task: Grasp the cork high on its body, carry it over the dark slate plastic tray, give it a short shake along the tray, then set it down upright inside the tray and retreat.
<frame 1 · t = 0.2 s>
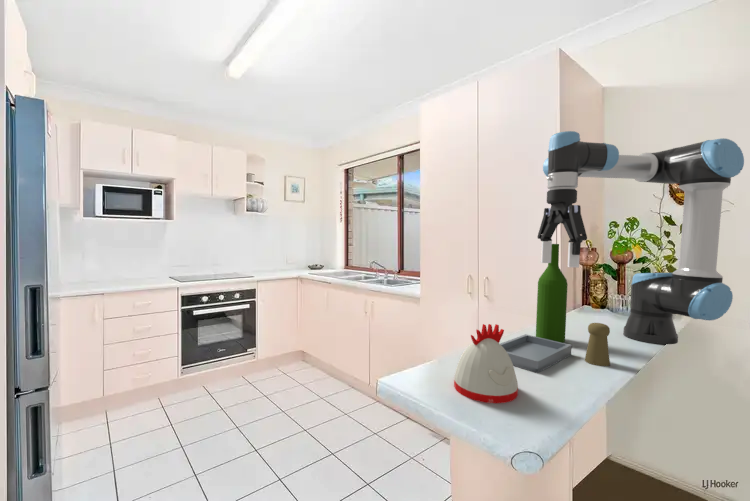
hand: (558, 265, 101), 27 cm above the table, fingers open, 13 cm apart
wine bottle: (550, 340, 121), on the table
kitchen timer: (485, 389, 82), on the table
slate tray: (530, 356, 104), on the table
cork: (597, 363, 100), on the table
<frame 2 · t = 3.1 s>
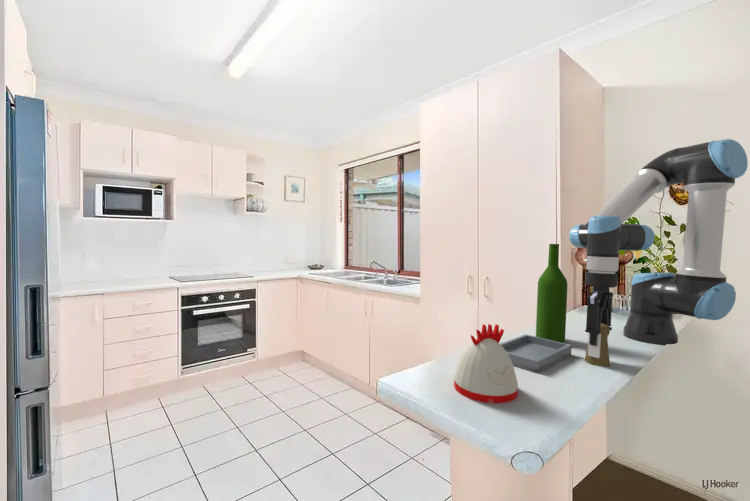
hand: (597, 354, 100), 2 cm above the table, fingers closed on cork, 5 cm apart
cork: (597, 362, 100), on the table, touching gripper
everything else where it was.
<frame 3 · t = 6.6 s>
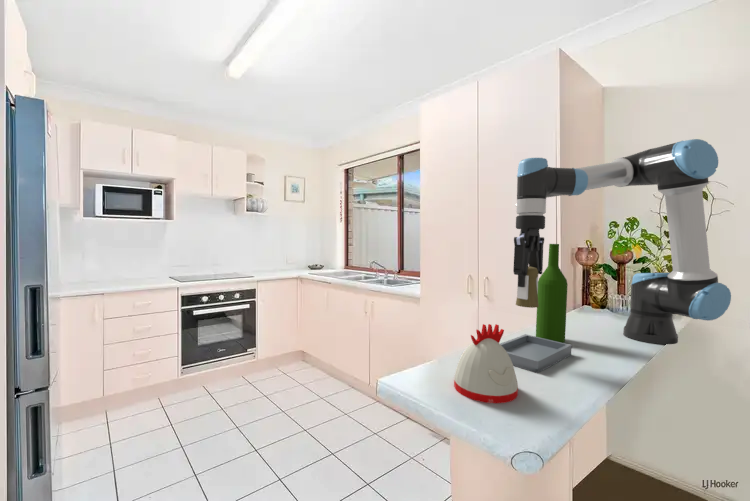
hand: (527, 297, 101), 18 cm above the table, fingers closed on cork, 5 cm apart
cork: (527, 306, 101), point 15 cm above the table, touching gripper
everything else where it was.
when the fingers open (4 cm above the table, at t = 10.4 s): cork stays where it is, resting on slate tray.
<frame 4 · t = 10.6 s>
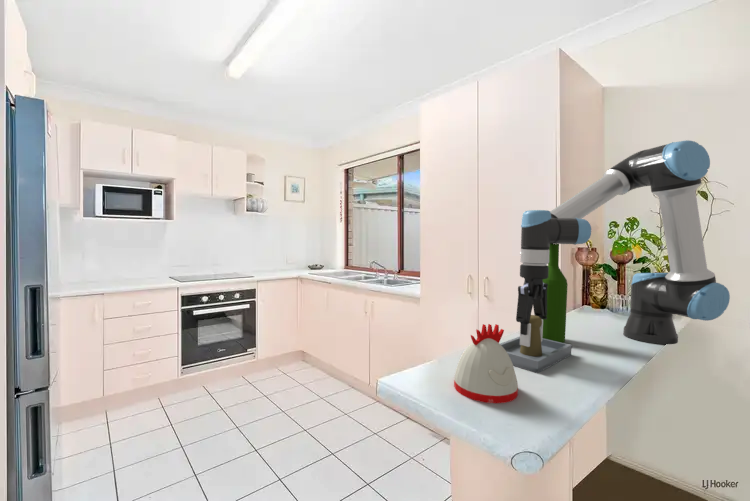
hand: (531, 342, 104), 4 cm above the table, fingers open, 7 cm apart
cork: (530, 353, 104), point 1 cm above the table, touching slate tray
everything else where it was.
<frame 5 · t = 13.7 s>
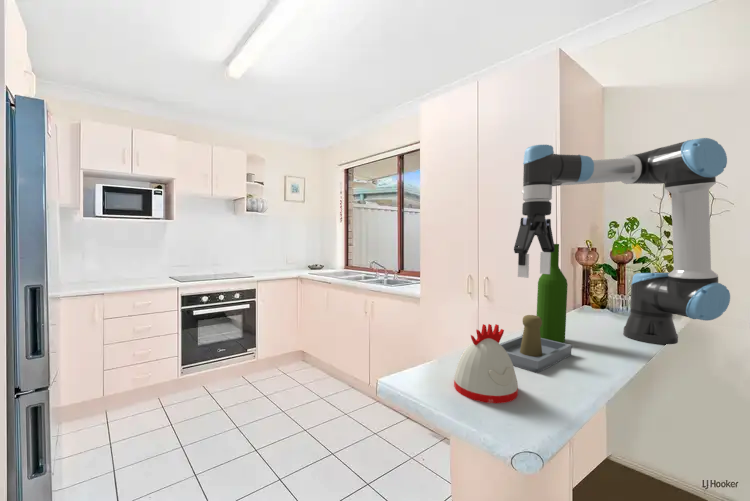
hand: (534, 275, 103), 24 cm above the table, fingers open, 13 cm apart
nothing on the table moved.
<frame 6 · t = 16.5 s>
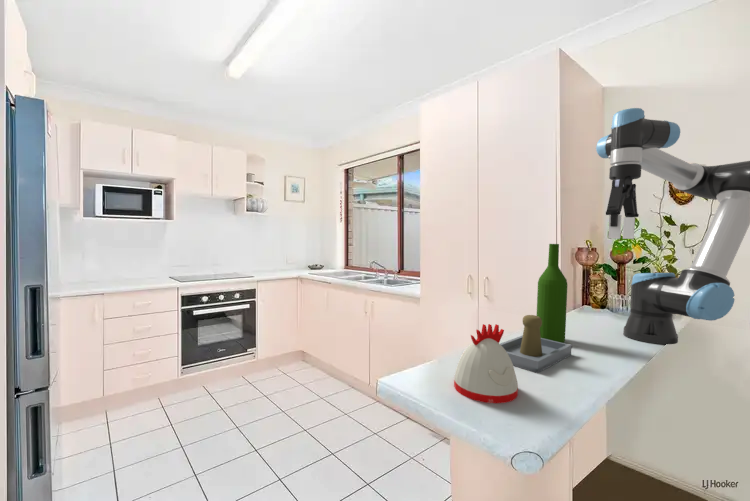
hand: (621, 238, 104), 35 cm above the table, fingers open, 13 cm apart
nothing on the table moved.
at the end: cork inside the target area on the slate tray (0.1 cm from its centre), point 0.8 cm above the slate tray's base; cork tilted 0°; the gripper is holding nothing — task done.
